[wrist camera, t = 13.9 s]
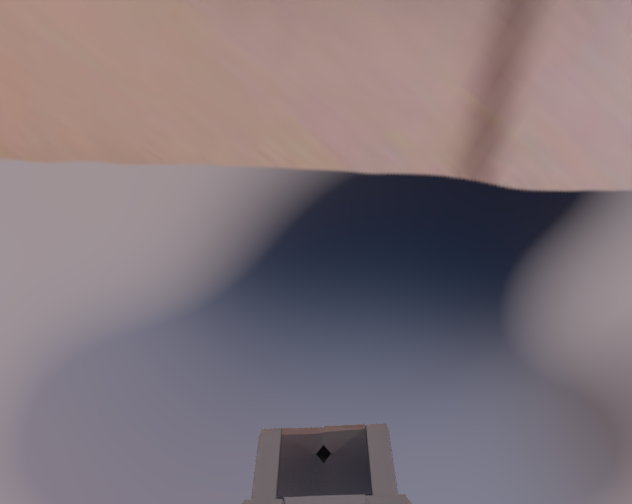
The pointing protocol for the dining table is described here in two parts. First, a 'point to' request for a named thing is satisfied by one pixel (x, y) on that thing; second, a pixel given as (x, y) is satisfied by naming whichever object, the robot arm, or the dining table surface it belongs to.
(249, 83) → the dining table surface
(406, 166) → the dining table surface
